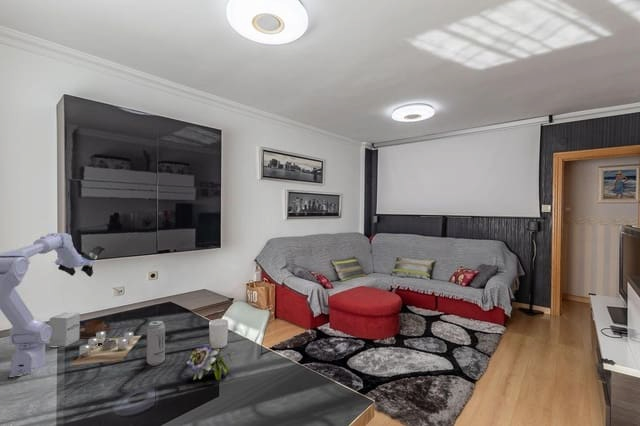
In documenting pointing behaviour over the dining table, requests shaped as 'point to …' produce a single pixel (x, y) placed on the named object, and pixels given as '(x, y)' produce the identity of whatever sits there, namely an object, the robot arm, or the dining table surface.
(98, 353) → the board
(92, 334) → the cup and saucer
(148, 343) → the energy drink can
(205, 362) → the passion flower
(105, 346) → the nut
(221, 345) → the white cup
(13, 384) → the dining table surface
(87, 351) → the spacers
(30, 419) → the dining table surface
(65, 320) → the supplement box
